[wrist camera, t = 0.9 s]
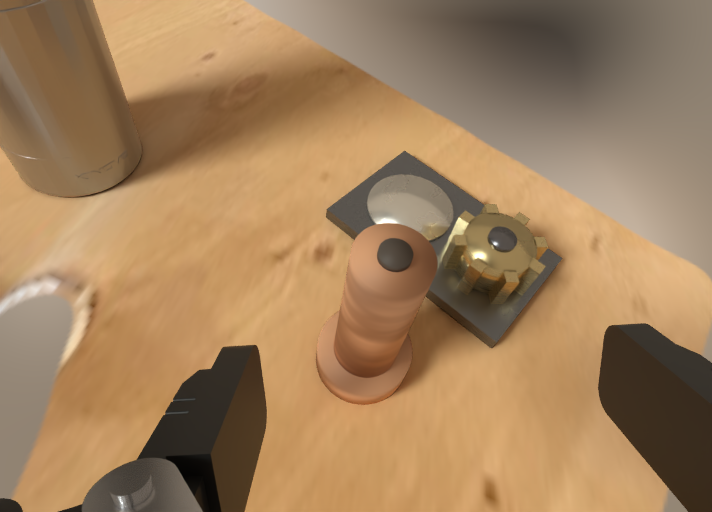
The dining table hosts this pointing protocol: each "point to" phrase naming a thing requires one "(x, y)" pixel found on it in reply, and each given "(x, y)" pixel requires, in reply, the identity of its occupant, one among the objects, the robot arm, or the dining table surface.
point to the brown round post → (376, 314)
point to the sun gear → (494, 253)
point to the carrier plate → (432, 237)
